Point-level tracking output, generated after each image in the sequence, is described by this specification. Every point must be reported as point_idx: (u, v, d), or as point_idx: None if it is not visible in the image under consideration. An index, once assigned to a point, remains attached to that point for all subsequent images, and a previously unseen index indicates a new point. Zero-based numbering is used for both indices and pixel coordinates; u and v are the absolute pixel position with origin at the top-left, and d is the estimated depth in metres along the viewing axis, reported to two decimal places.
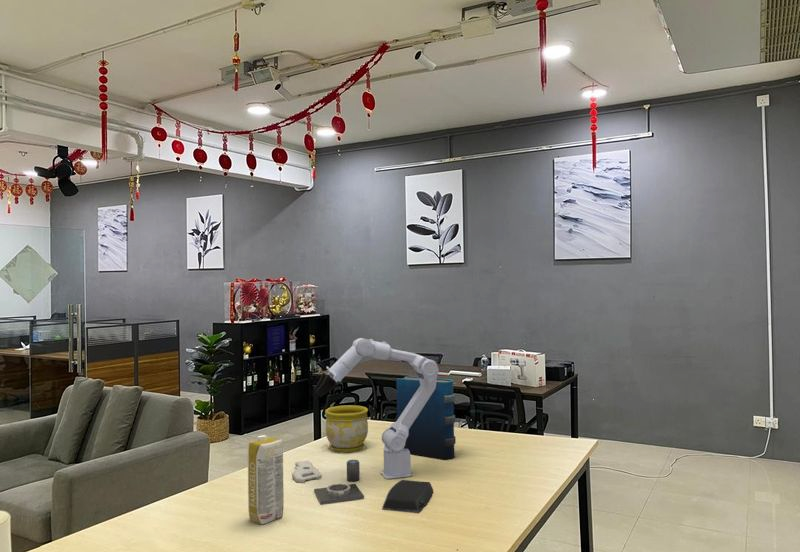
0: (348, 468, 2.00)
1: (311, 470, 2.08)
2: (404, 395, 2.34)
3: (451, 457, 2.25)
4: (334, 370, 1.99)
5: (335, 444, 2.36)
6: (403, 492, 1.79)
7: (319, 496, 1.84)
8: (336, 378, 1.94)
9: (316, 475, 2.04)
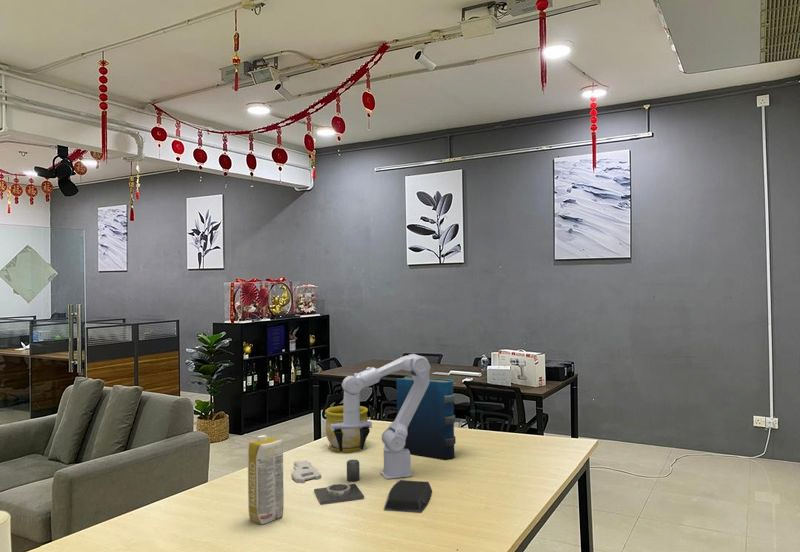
0: (348, 468, 2.00)
1: (310, 470, 2.08)
2: (404, 395, 2.34)
3: (451, 457, 2.25)
4: None
5: (335, 444, 2.36)
6: (404, 493, 1.79)
7: (319, 496, 1.84)
8: (331, 427, 2.00)
9: (315, 475, 2.04)
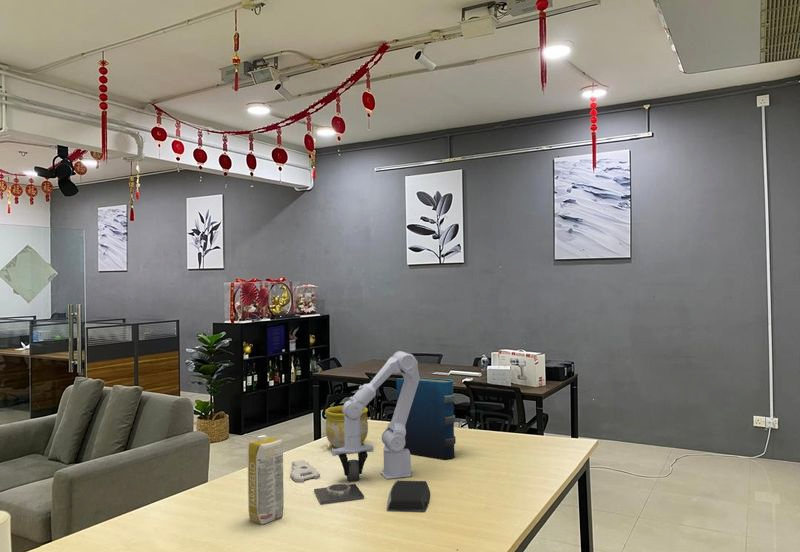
0: (348, 468, 2.00)
1: (309, 469, 2.08)
2: None
3: (451, 457, 2.25)
4: None
5: (335, 444, 2.36)
6: (406, 493, 1.78)
7: (319, 496, 1.84)
8: (332, 452, 2.00)
9: (314, 474, 2.05)
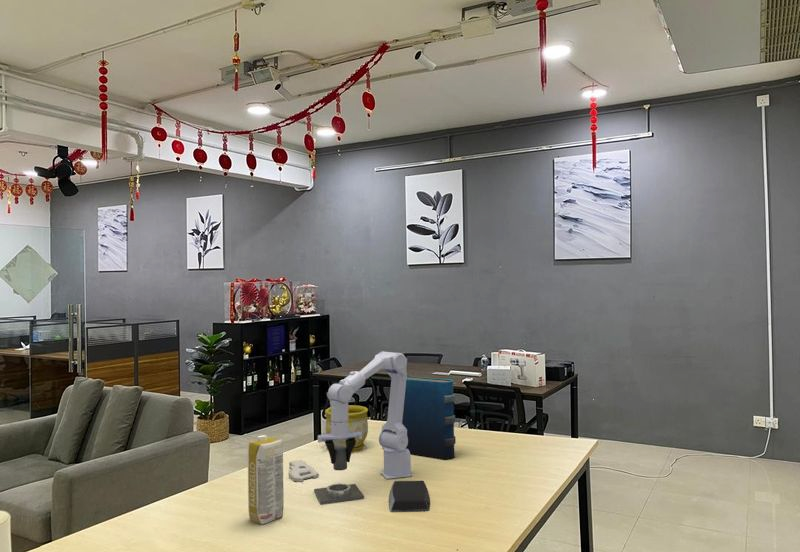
0: (335, 455, 1.88)
1: (307, 469, 2.09)
2: None
3: (451, 457, 2.25)
4: None
5: (335, 444, 2.36)
6: (407, 493, 1.78)
7: (319, 496, 1.84)
8: (318, 439, 1.88)
9: (313, 474, 2.05)
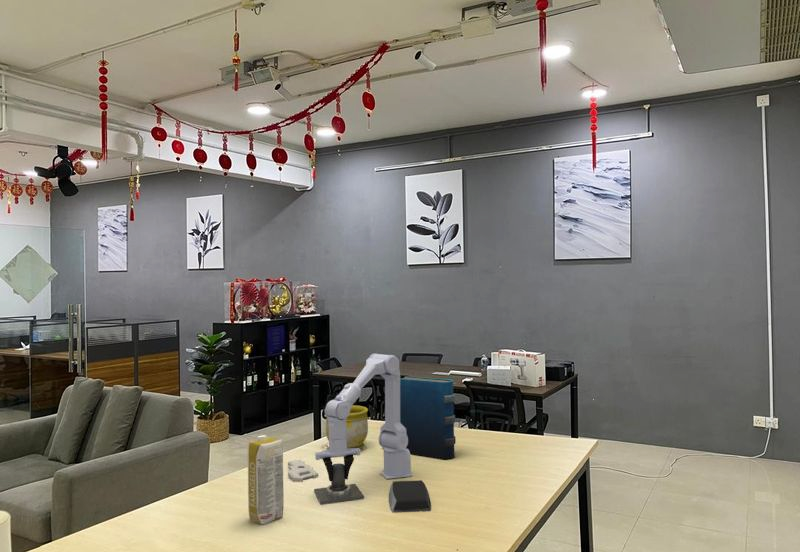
0: (332, 472, 1.86)
1: (306, 469, 2.09)
2: (404, 395, 2.34)
3: (451, 457, 2.25)
4: None
5: None
6: (408, 493, 1.78)
7: (319, 496, 1.84)
8: (315, 456, 1.85)
9: (313, 473, 2.06)
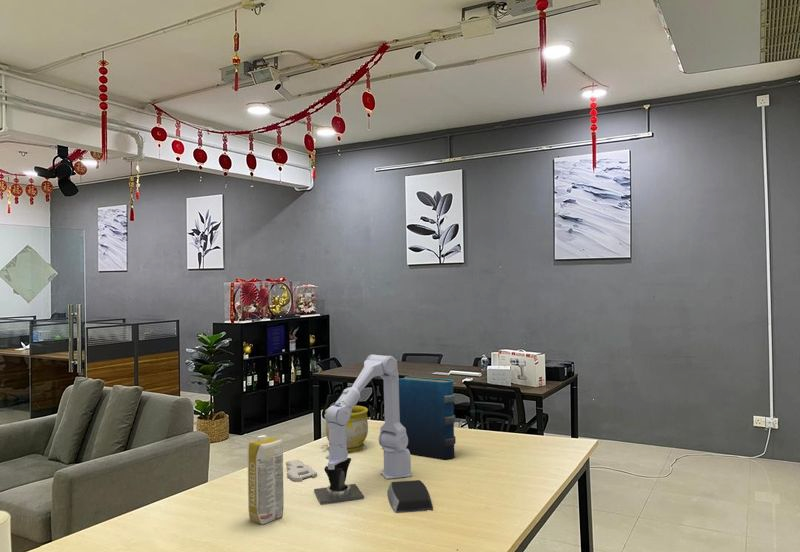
0: (339, 479, 1.85)
1: (305, 468, 2.09)
2: (404, 395, 2.34)
3: (451, 457, 2.25)
4: (331, 456, 1.86)
5: None
6: (409, 493, 1.78)
7: (319, 496, 1.84)
8: (330, 466, 1.80)
9: (312, 473, 2.06)
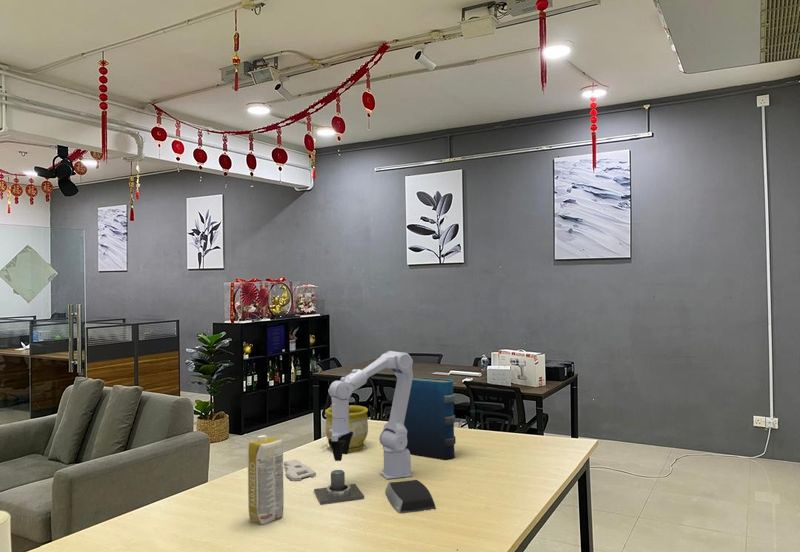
0: (339, 479, 1.85)
1: (304, 468, 2.10)
2: None
3: (451, 457, 2.25)
4: (334, 429, 1.93)
5: None
6: (411, 493, 1.78)
7: (319, 496, 1.84)
8: (334, 438, 1.88)
9: (311, 473, 2.06)
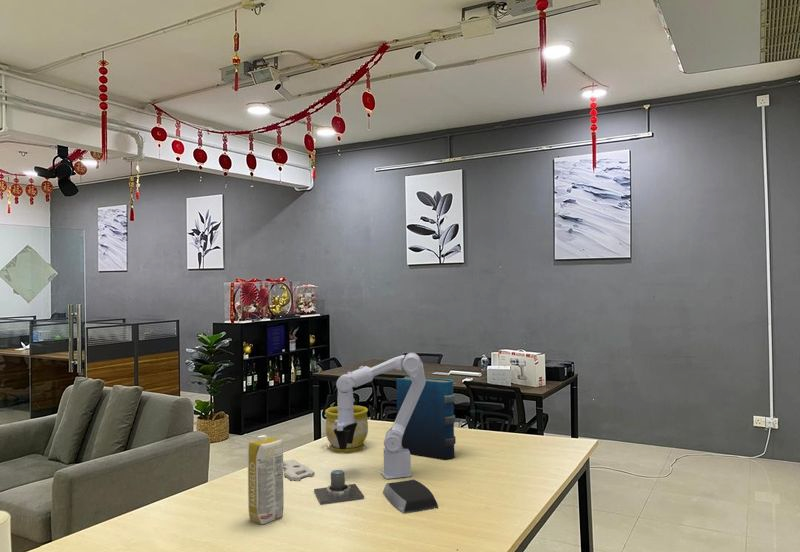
0: (339, 479, 1.85)
1: (302, 468, 2.10)
2: (404, 395, 2.34)
3: (451, 457, 2.25)
4: (339, 420, 2.06)
5: (335, 444, 2.36)
6: (412, 493, 1.78)
7: (319, 496, 1.84)
8: (339, 428, 2.01)
9: (309, 472, 2.07)
